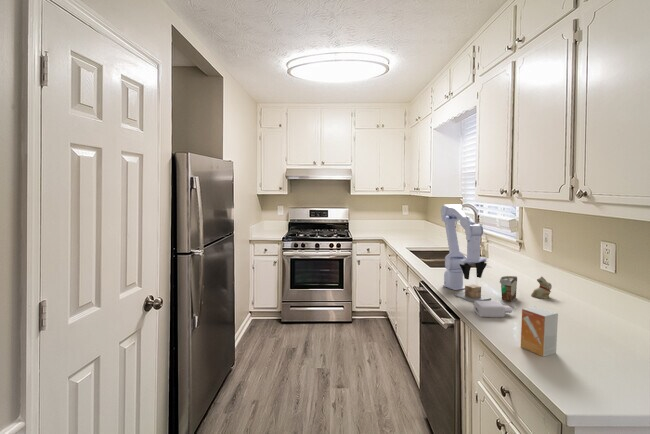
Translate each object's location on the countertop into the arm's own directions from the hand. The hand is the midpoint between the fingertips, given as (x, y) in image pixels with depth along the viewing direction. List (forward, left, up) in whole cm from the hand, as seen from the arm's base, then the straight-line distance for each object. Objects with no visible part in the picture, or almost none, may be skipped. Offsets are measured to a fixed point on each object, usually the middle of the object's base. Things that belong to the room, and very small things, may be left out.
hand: (472, 278), depth 177 cm
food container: (+8, +13, -10) cm, 18 cm away
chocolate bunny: (+12, +31, -10) cm, 35 cm away
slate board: (0, 0, -9) cm, 9 cm away
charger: (+22, -9, -10) cm, 25 cm away
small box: (+53, -24, -10) cm, 59 cm away
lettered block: (0, 0, -9) cm, 9 cm away
